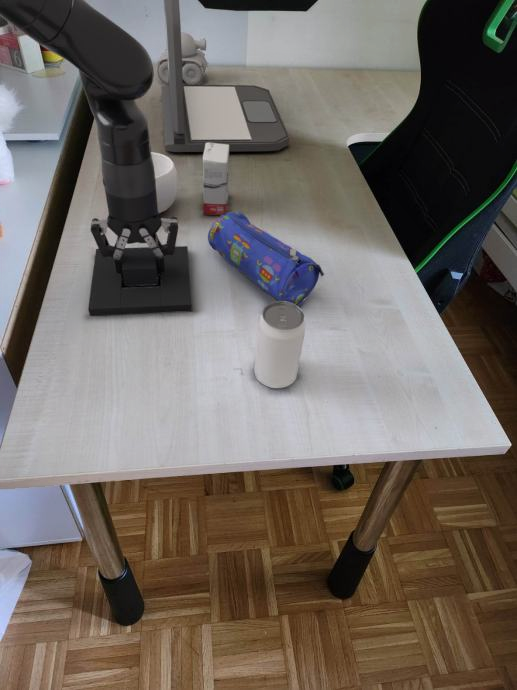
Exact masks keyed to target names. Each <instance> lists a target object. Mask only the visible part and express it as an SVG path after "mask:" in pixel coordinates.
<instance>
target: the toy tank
mask: <svg viewBox="0 0 517 690" xmlns="http://www.w3.org/2000/svg"><path fill="white" fill-rule="evenodd" d="M181 50H182V75H183V85H201V83H202V82H203V79H204V77H205V76H204V75H205V72H206V70H207V68H208V67H209V62H208V61H207V59H206V57H205V56H206V54H205V53H204V52H203V51H207V40H206V38H205V37H204V38H203V39H200V40H196V39H195V38H194V37H193V36H192V35H191V34H189V33H187V32H184V31H181ZM156 67H157V68H156V72H157V76H158V79H159V80H160V81H161V82H162V83H163V84H165V85H169V81H168V79H169V78H168V61H167V48H165V49H164V50H163V51H162V52H161V54H160V55H159V58H158V60H157V63H156Z"/></svg>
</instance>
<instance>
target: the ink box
mask: <svg viewBox="0 0 517 690" xmlns="http://www.w3.org/2000/svg"><path fill="white" fill-rule="evenodd" d="M229 178H230V151H229V144H218V143H206V144H205V150H204V152H203V155H202V190H203V191H202V192H203V193H202V194H203V196H202V197H203V201H202V203H203V205H202V206H203V207H202V208H203V215H209V216H222V215H225V214H227V208H228V202H229V201H228V200H229V182H230V181H229V180H230V179H229Z"/></svg>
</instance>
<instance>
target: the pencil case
mask: <svg viewBox="0 0 517 690" xmlns="http://www.w3.org/2000/svg"><path fill="white" fill-rule="evenodd" d="M207 240H208V241H207V242H208V245H209V246H210V247H211V249H212V250H214V251H215V252H217V253H218V254H219V255H220V257H222V258H223V259H224V260H225V261H227V262H228V263H229V264H231V265H232V266H233V267H235V268H236V269H237V270H239V271H240V272H241V273H242V274H243V275H245V276H246V277H247V278H248V279H249V280H250V281H252V282H253V283H254V284H255V285H257V286H258V287H259V288H260V289H261V290H263V291H264V292H266V293H268V294H269V295H270V296H272V298H274V299H276V300H277V301H287V302H291V303H293V304H295V305H297V306H298V307H299V306H300V305H302V303H303V302H304V301H305V300H306V299H307V298H308V296H309V295H310V294H311V293H312V292H313V290H314V288H315V287H316V286H317V284H318V281H319V278H320V277H324V276H325V273H324V271H323V270H322V266H320V264H317V262H316V261H315V260H313V258H311V257H309V256H308V255H305V254H302V253H301V252H299V250H296V249H295V248H292V247H291V246H290V245H288V244H287V243H284V242H283V241H282V240H279V239H278V238H276V237H274V236H273V235H271V234H270V233H268V232H266V231H265V230H263V229H261V228H259V227H258V226H256V225H254V224H252V223H251V222H250V220H249V219H248V217H247V215H245V214H244V212H241V211H229V212H226V214H225V215H220V217H219V218H217V219H216V220H215V221H214V222H213V223H212V225H210V227H209V230H208V233H207Z"/></svg>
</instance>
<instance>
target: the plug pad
mask: <svg viewBox="0 0 517 690" xmlns="http://www.w3.org/2000/svg"><path fill="white" fill-rule="evenodd" d="M123 254H124V258H123V265H122V272H123V278H124V279H123V285H124V286H125V287H131V286H132V287H135V286H154V285H155V286H156V285H157V286H159V285H158V284H159V275H157V266H156V261H155V254H154V252H153V251H152V250H151V249H135V250H124V251H123Z"/></svg>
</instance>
